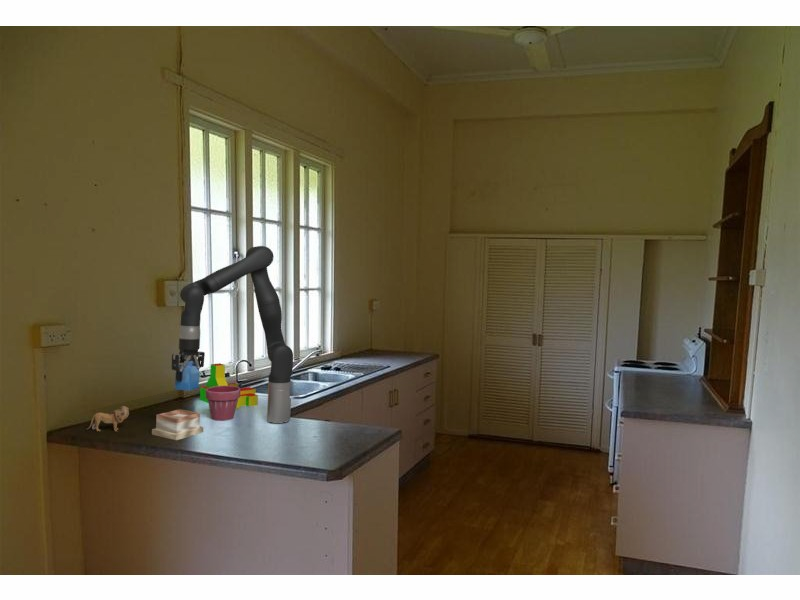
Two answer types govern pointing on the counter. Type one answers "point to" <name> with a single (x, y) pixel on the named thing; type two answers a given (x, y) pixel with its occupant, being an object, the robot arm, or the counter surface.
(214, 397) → the plant pot
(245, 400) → the building blocks toy
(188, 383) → the perfume bottle
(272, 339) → the robot arm
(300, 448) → the counter surface
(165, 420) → the pedestal
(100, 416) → the lion figurine
